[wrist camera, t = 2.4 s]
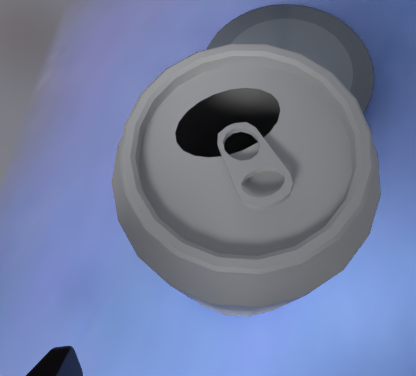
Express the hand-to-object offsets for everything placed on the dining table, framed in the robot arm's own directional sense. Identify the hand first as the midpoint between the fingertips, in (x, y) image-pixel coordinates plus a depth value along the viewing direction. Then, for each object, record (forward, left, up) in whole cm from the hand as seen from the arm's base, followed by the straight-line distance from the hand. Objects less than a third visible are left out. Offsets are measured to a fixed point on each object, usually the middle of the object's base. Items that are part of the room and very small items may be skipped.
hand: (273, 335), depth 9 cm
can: (+3, -3, -11) cm, 12 cm away
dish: (+8, -12, -11) cm, 18 cm away
